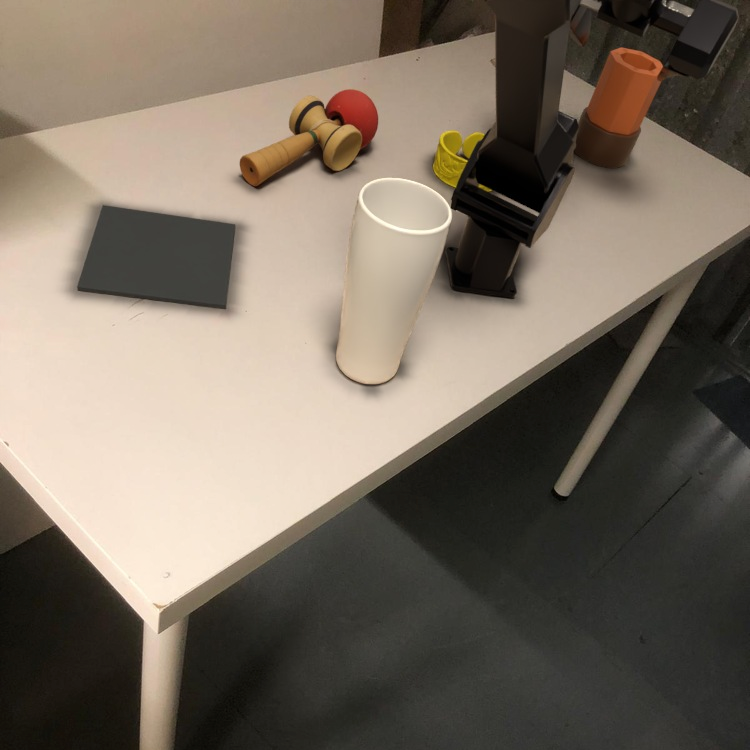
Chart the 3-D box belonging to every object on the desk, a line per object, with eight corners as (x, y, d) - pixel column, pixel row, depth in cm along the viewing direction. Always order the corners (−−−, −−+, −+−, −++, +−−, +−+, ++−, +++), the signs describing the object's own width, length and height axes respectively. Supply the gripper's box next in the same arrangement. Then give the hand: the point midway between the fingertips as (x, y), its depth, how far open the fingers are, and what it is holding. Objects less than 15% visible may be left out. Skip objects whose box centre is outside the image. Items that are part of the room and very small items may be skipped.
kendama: (282, 218, 75) (396, 147, 84) (273, 156, 71) (396, 88, 79) (230, 193, 79) (345, 127, 87) (218, 133, 74) (342, 69, 82)
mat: (225, 309, 64) (225, 305, 63) (77, 290, 61) (76, 286, 61) (235, 227, 71) (235, 224, 71) (103, 208, 69) (102, 204, 68)
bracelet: (509, 193, 85) (519, 166, 82) (445, 192, 82) (453, 164, 80) (486, 158, 89) (495, 131, 86) (424, 156, 86) (431, 127, 84)
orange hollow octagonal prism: (642, 138, 91) (671, 78, 86) (593, 129, 90) (619, 68, 85) (629, 112, 95) (656, 54, 90) (582, 103, 94) (606, 44, 88)
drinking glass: (357, 327, 66) (393, 165, 54) (420, 366, 64) (471, 209, 52) (309, 363, 62) (337, 197, 50) (375, 406, 60) (420, 246, 48)
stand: (633, 172, 94) (666, 104, 87) (576, 162, 93) (606, 92, 86) (618, 141, 99) (649, 74, 92) (564, 131, 97) (592, 63, 91)
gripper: (796, -95, 63) (743, 24, 78) (597, -171, 66) (583, -42, 81) (725, 27, 64) (686, 121, 79) (532, -54, 67) (531, 51, 82)
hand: (622, 59), depth 80 cm, fingers open, 9 cm apart
